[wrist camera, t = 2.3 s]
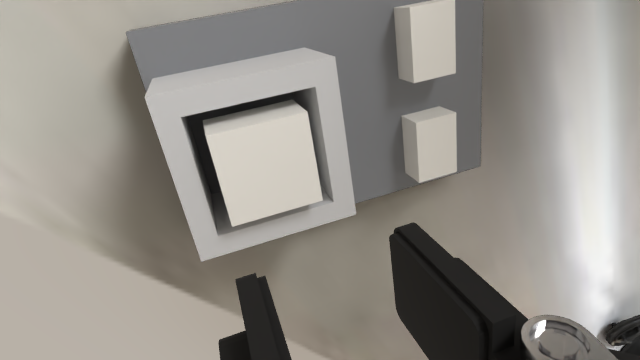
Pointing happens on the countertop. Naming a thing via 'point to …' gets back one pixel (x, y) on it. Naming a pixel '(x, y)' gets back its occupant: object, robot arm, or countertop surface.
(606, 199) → the countertop surface
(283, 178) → the white cube insert
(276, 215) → the breaker panel
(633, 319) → the milk frother
